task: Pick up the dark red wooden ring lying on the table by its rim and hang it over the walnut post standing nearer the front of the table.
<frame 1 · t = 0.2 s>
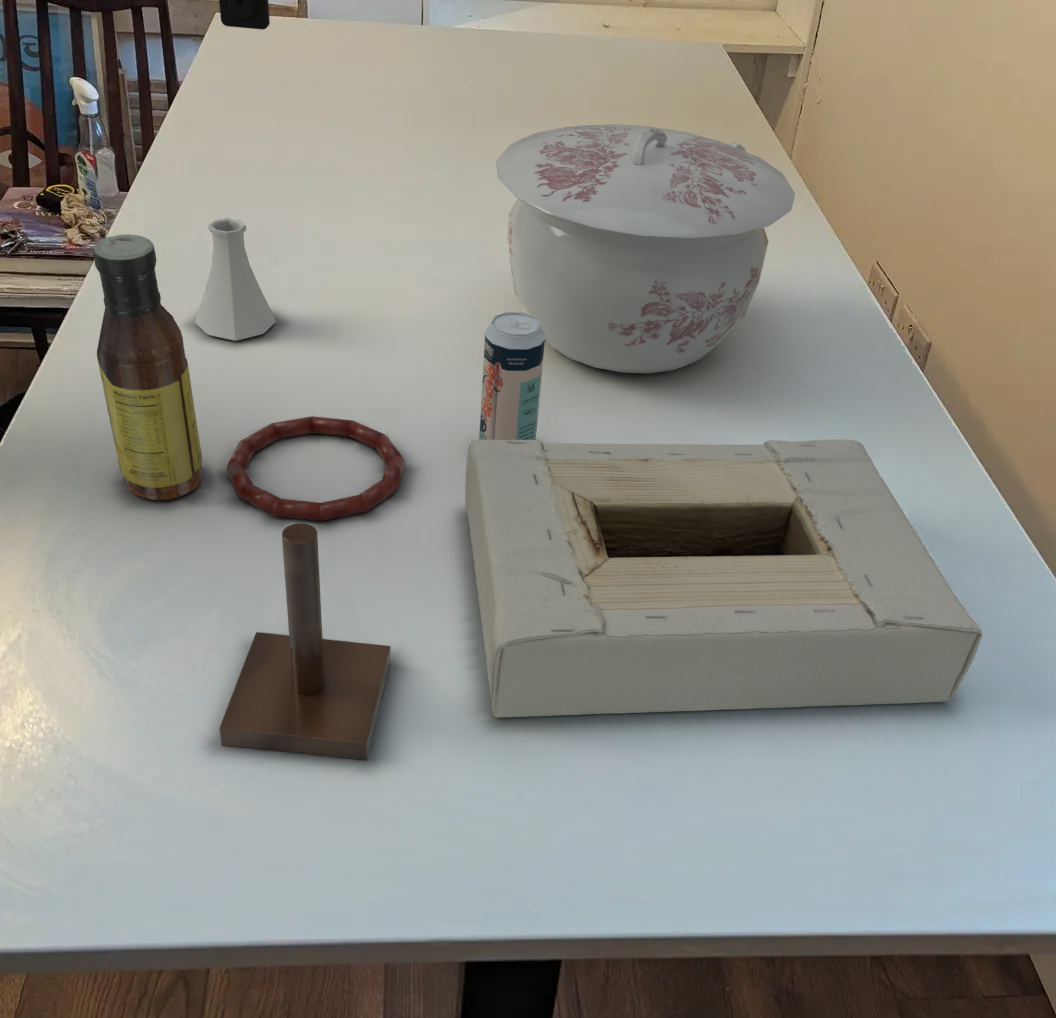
hand: (263, 9, 84), 32 cm above the table, tool pointing down, fingers open, 9 cm apart
chamber pot: (625, 342, 118), on the table
beer can: (506, 454, 101), on the table
post: (309, 701, 76), on the table
sauce bottle: (163, 485, 93), on the table
flask: (236, 326, 115), on the table
ring: (316, 465, 96), point 1 cm above the table
box: (688, 606, 87), on the table
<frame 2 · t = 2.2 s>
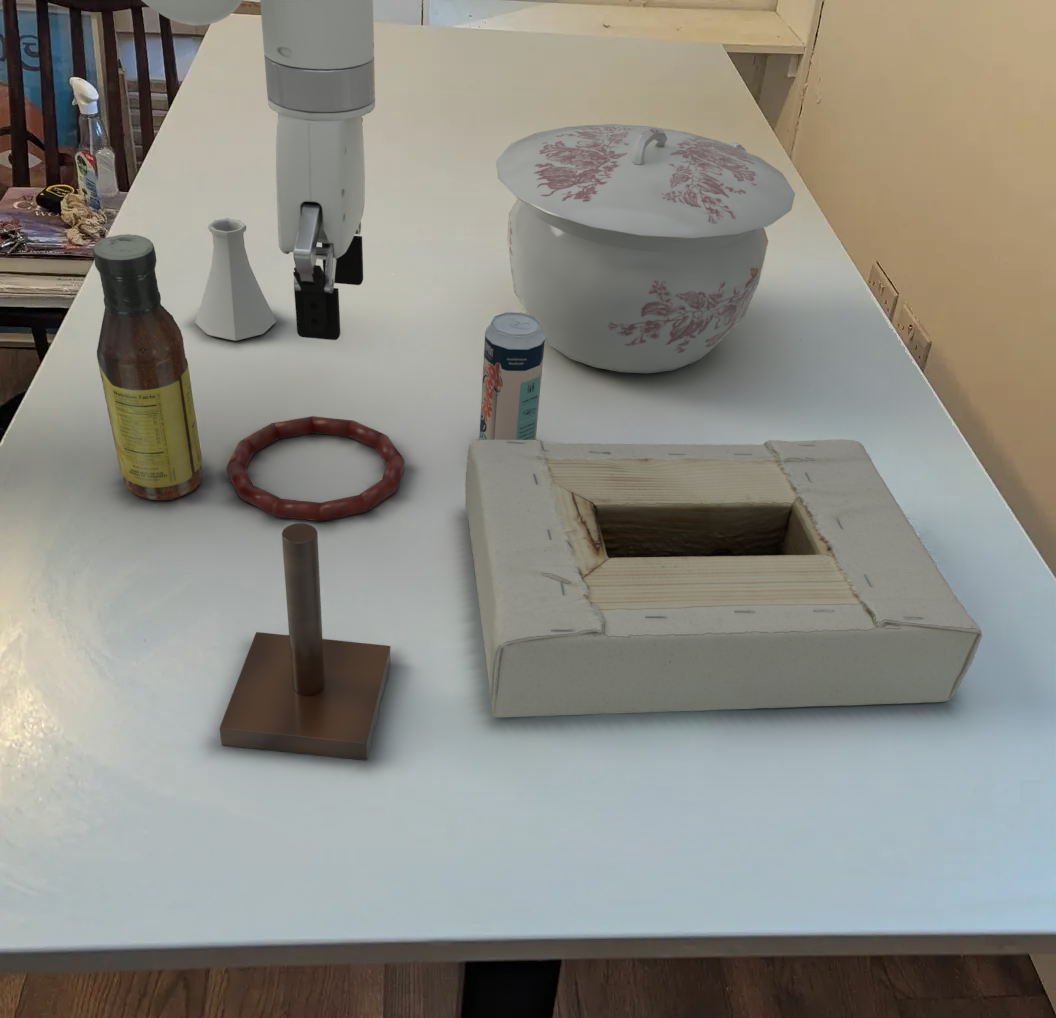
hand: (331, 308, 94), 12 cm above the table, tool pointing down, fingers open, 9 cm apart
nothing on the table moved.
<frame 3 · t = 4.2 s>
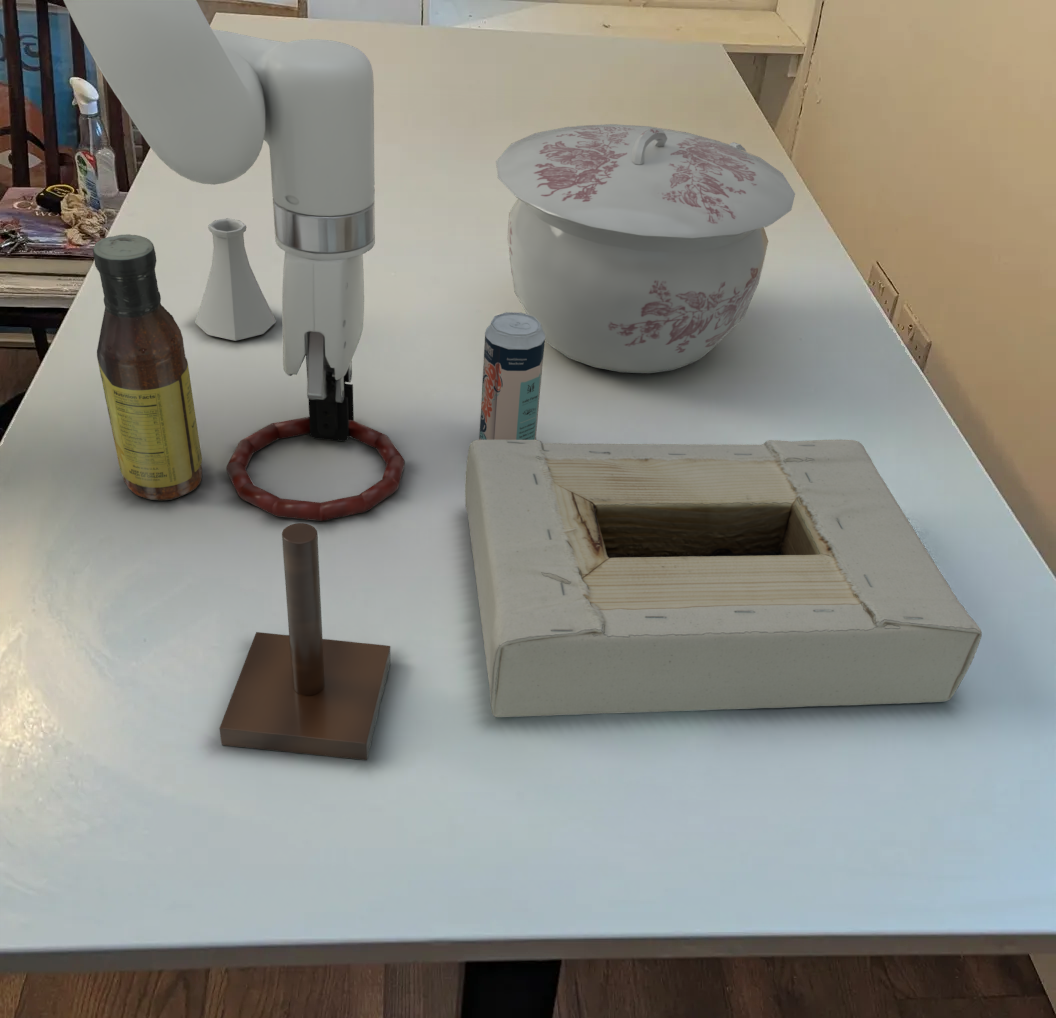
hand: (332, 430, 101), 0 cm above the table, tool pointing down, fingers closed on ring, 1 cm apart
ring: (316, 465, 96), point 1 cm above the table, touching gripper
everything else where it was.
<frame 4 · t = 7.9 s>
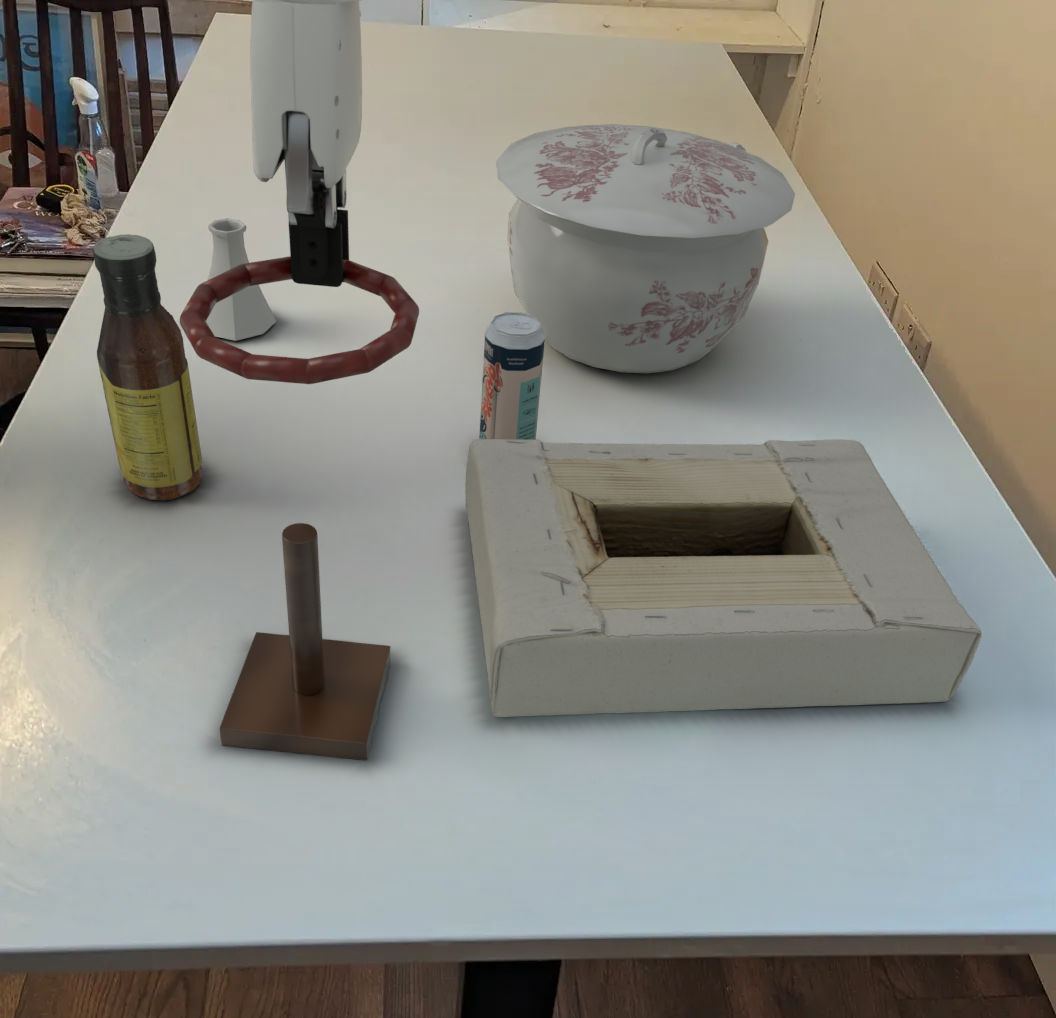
hand: (321, 274, 76), 21 cm above the table, tool pointing down, fingers closed on ring, 1 cm apart
ring: (301, 315, 71), point 21 cm above the table, touching gripper
everything else where it was.
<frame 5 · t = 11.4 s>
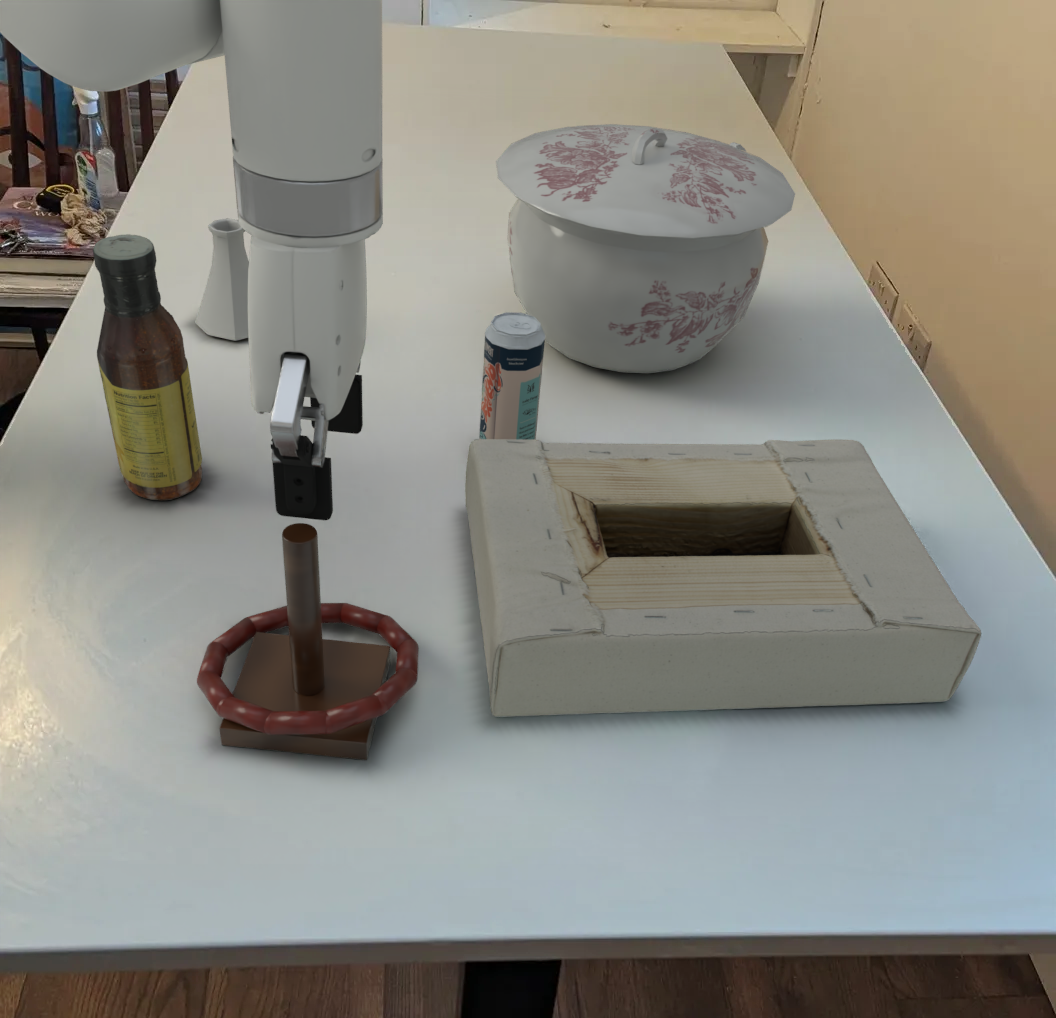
hand: (321, 470, 72), 14 cm above the table, tool pointing down, fingers open, 9 cm apart
ring: (310, 664, 76), point 2 cm above the table, tilted 9°, touching post
everything else where it was.
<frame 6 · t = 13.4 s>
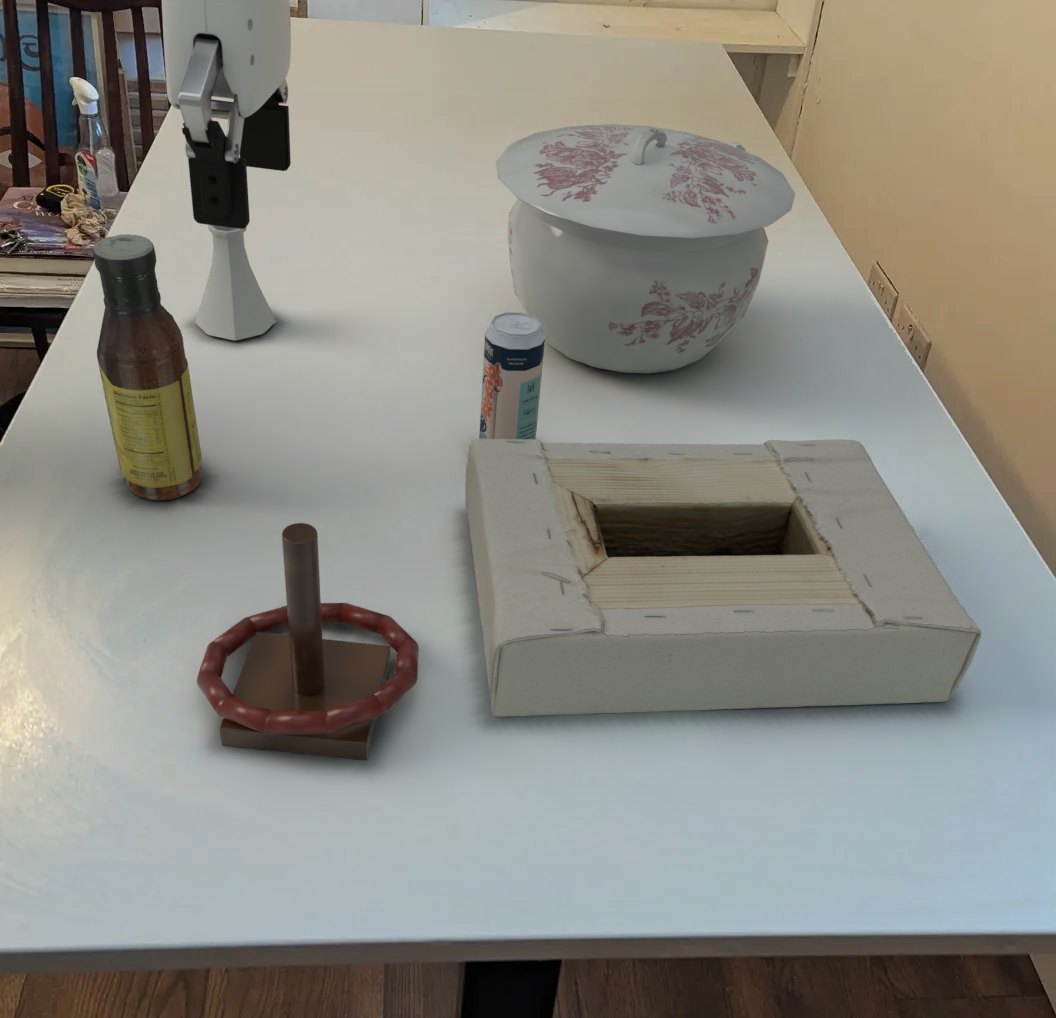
hand: (245, 194, 73), 26 cm above the table, tool pointing down, fingers open, 9 cm apart
nothing on the table moved.
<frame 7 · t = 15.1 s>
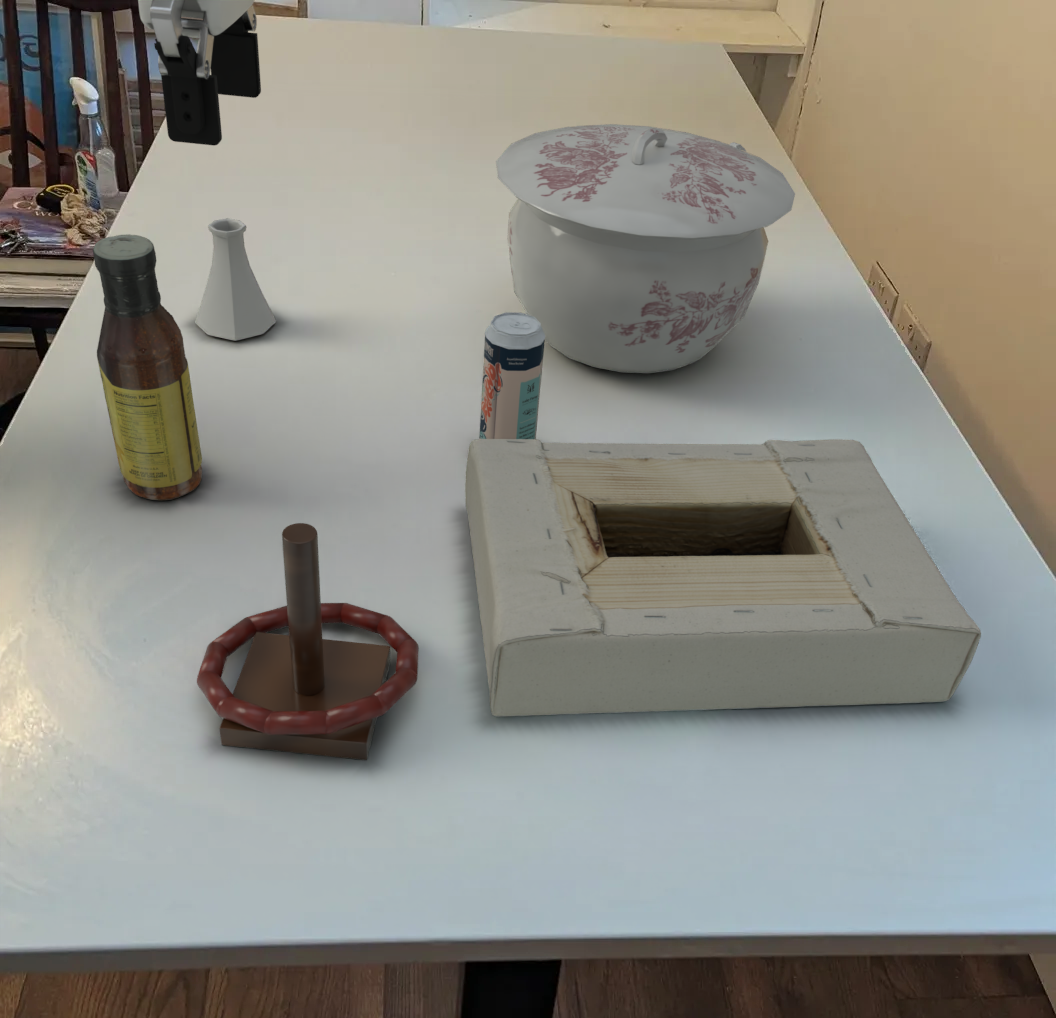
hand: (217, 117, 77), 28 cm above the table, tool pointing down, fingers open, 9 cm apart
nothing on the table moved.
at the end: ring 1.6 cm from the post (horizontally); ring point 1.9 cm above the table; the gripper is holding nothing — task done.
